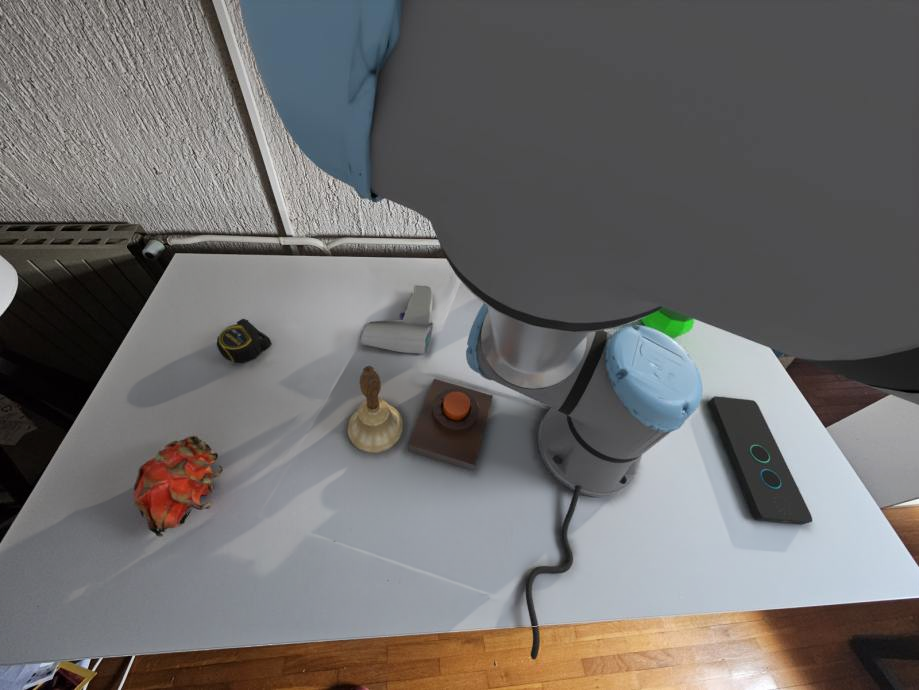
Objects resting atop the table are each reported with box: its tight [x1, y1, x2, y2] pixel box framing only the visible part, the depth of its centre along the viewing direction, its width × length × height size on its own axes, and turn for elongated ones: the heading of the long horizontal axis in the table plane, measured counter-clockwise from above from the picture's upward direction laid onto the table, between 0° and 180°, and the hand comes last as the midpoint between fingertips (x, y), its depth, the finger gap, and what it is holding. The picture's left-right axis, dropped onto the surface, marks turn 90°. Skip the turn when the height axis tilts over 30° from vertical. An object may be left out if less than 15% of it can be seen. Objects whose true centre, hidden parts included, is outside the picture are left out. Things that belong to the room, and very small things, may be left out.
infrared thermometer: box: [359, 284, 434, 355], centre depth 70 cm, size 5×12×15 cm
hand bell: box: [347, 365, 404, 454], centre depth 52 cm, size 8×8×16 cm
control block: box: [408, 378, 494, 471], centre depth 58 cm, size 12×10×4 cm
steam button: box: [443, 392, 470, 421], centre depth 57 cm, size 4×4×2 cm
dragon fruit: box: [133, 435, 224, 538], centre depth 47 cm, size 8×8×12 cm
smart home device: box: [707, 395, 813, 526], centre depth 61 cm, size 8×2×20 cm
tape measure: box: [216, 318, 272, 364], centre depth 63 cm, size 7×7×4 cm
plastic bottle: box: [640, 307, 695, 340], centre depth 68 cm, size 10×10×25 cm
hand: (577, 257), depth 68 cm, fingers open, 11 cm apart
